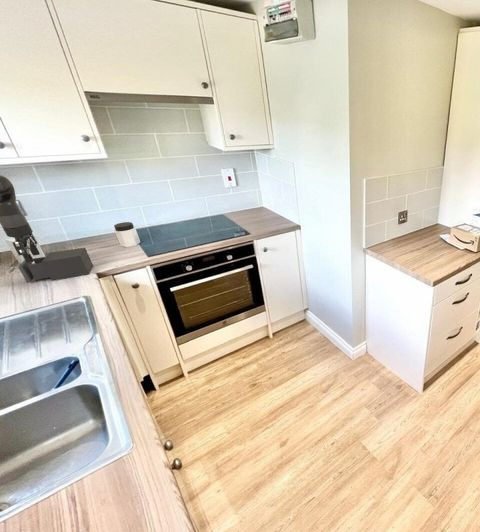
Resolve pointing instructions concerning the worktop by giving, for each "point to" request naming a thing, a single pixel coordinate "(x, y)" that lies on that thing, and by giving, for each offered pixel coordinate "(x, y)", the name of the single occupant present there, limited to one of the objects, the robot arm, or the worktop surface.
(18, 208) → the robot arm
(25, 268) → the drawer
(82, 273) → the cabinet
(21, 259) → the small box
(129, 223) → the jar
